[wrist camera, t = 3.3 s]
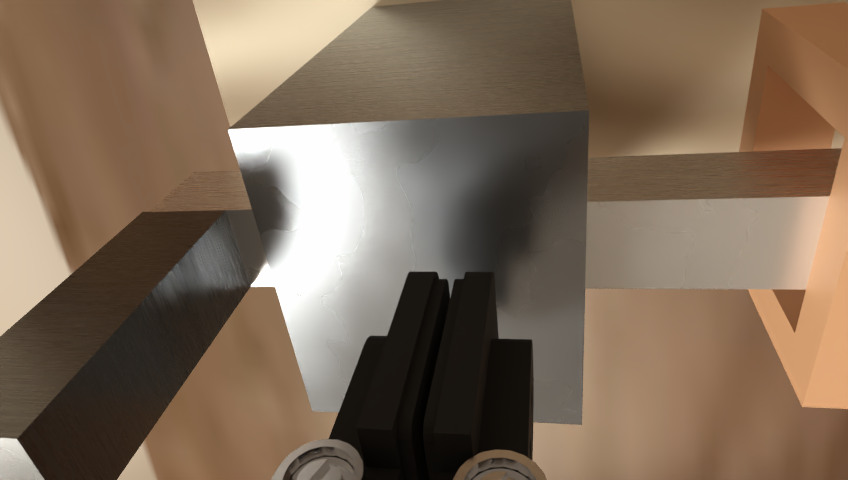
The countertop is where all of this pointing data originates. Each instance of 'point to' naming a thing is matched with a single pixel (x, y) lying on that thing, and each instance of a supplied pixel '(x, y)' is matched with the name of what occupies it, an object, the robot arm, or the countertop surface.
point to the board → (599, 50)
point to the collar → (844, 219)
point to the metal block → (428, 183)
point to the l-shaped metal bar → (247, 266)
